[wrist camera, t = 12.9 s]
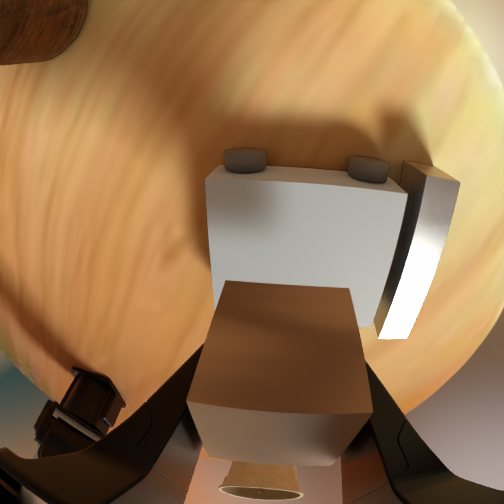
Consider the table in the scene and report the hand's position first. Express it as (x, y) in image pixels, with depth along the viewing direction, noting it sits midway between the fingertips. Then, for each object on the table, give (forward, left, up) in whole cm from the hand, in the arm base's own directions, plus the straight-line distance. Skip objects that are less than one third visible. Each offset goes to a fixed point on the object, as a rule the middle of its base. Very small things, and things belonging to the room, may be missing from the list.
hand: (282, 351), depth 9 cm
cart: (+1, 0, -8) cm, 8 cm away
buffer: (+7, 0, -8) cm, 11 cm away
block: (0, 0, -1) cm, 1 cm away
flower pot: (0, -27, -9) cm, 28 cm away
